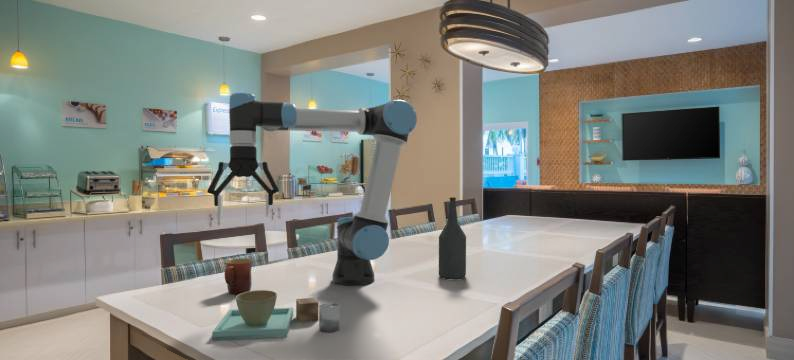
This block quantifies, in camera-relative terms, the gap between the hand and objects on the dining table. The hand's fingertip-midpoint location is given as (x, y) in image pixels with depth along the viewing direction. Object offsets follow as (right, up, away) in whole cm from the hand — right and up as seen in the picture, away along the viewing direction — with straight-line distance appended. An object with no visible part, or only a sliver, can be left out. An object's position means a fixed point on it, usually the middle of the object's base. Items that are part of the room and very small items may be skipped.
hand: (244, 216), depth 136 cm
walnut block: (+22, -26, -14) cm, 37 cm away
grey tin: (+29, -26, -22) cm, 45 cm away
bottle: (+67, -26, +34) cm, 79 cm away
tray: (+10, -26, -20) cm, 35 cm away
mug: (-6, -26, +10) cm, 28 cm away
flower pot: (+10, -26, -20) cm, 34 cm away
